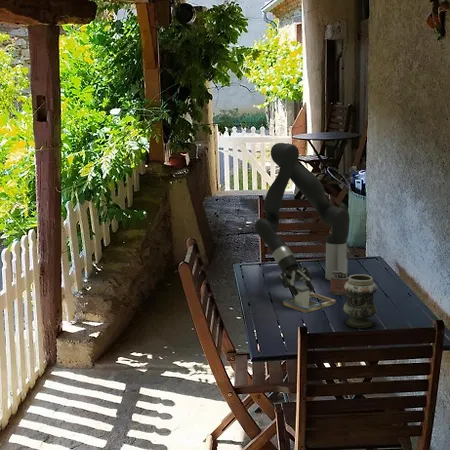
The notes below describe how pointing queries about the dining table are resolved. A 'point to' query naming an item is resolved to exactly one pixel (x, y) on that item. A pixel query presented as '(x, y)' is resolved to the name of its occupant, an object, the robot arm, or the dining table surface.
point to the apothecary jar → (360, 300)
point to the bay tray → (313, 304)
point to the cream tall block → (302, 296)
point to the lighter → (338, 283)
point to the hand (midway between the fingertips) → (304, 292)
